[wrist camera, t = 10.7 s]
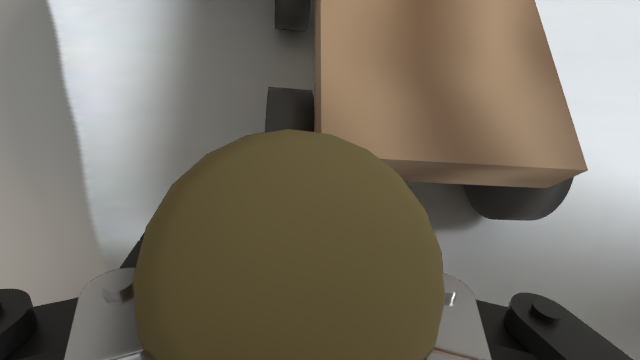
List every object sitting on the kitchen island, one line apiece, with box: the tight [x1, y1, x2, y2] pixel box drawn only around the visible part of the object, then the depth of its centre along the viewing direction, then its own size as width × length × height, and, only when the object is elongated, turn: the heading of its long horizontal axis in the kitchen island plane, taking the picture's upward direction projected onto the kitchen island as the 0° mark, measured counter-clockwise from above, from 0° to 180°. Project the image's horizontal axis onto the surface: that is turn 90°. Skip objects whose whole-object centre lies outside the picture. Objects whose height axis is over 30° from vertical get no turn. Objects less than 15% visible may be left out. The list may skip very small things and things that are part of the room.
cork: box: [133, 129, 445, 360], centre depth 10 cm, size 6×6×11 cm
